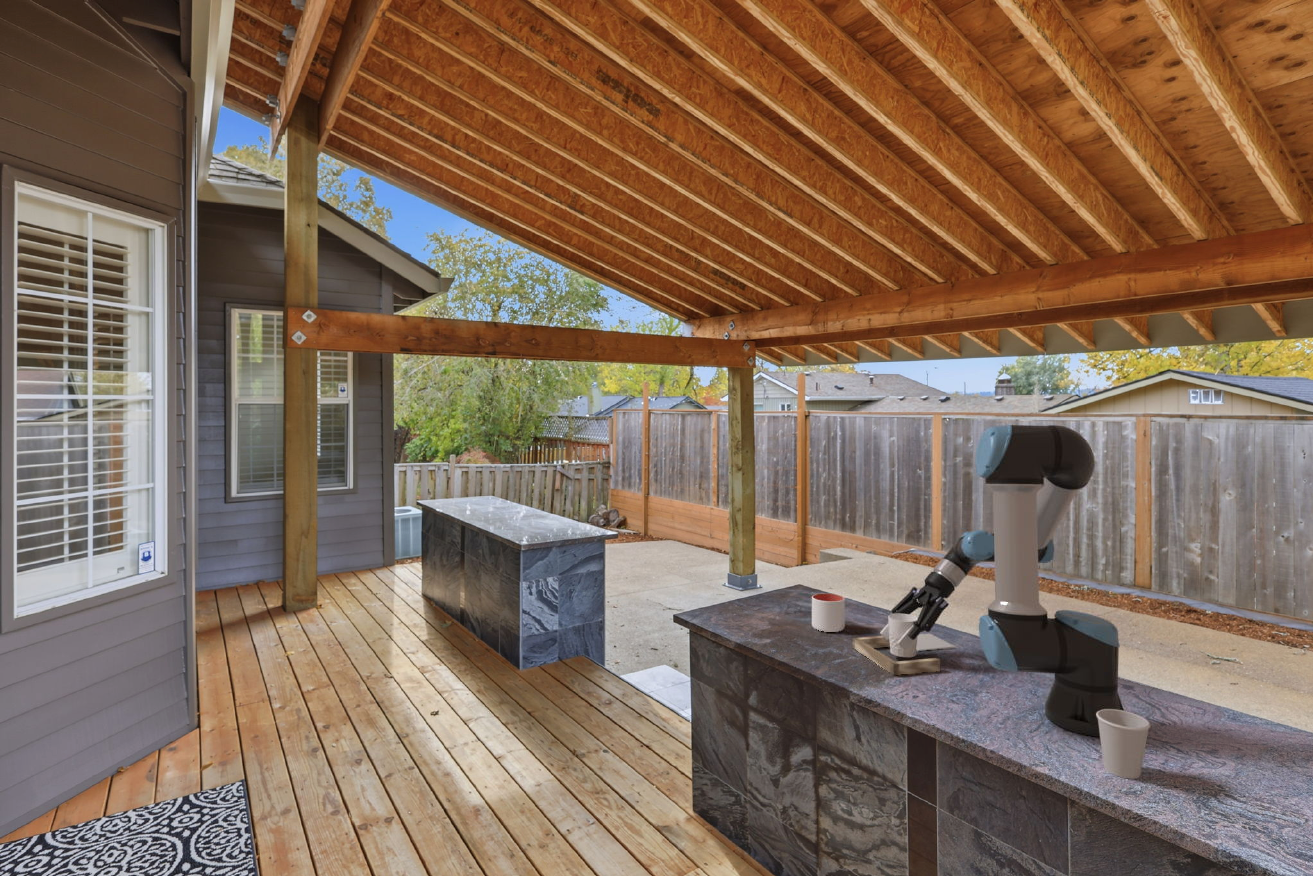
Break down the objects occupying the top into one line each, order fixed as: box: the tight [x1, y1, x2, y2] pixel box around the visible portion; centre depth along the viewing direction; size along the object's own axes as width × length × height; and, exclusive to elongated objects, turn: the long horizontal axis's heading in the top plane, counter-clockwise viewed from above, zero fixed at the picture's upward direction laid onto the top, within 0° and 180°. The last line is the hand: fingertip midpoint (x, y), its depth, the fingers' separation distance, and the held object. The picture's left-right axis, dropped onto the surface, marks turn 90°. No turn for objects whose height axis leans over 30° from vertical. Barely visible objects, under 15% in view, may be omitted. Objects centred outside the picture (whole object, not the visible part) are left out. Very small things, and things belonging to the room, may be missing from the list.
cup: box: [811, 592, 846, 633], centre depth 212 cm, size 10×10×10 cm
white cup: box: [887, 613, 918, 658], centre depth 186 cm, size 8×8×10 cm
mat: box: [916, 633, 956, 652], centre depth 199 cm, size 12×12×1 cm
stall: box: [851, 635, 941, 676], centre depth 185 cm, size 14×21×3 cm, turn 13°
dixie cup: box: [1096, 709, 1151, 780], centre depth 127 cm, size 8×8×10 cm
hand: (892, 641), depth 185 cm, fingers closed on white cup, 8 cm apart
